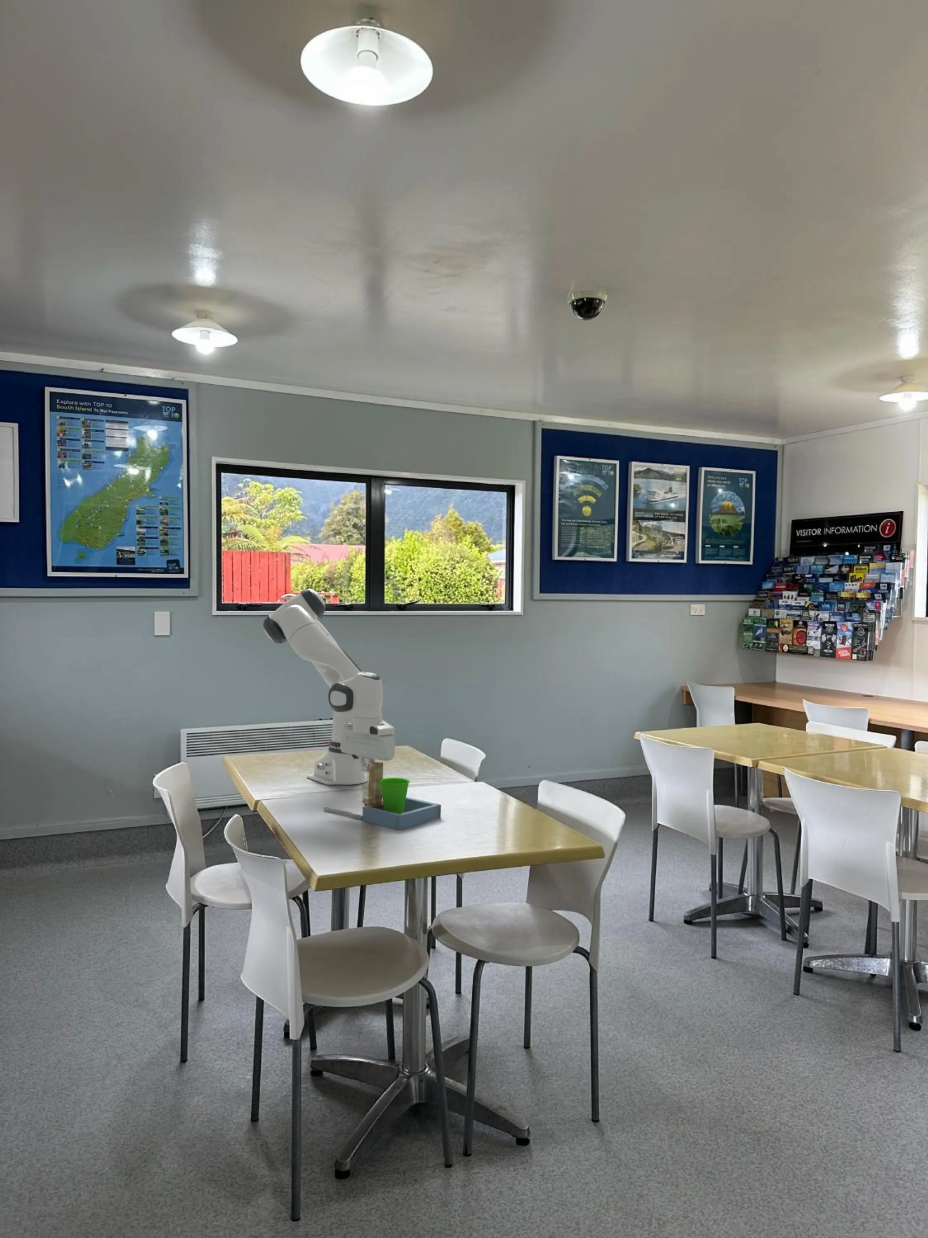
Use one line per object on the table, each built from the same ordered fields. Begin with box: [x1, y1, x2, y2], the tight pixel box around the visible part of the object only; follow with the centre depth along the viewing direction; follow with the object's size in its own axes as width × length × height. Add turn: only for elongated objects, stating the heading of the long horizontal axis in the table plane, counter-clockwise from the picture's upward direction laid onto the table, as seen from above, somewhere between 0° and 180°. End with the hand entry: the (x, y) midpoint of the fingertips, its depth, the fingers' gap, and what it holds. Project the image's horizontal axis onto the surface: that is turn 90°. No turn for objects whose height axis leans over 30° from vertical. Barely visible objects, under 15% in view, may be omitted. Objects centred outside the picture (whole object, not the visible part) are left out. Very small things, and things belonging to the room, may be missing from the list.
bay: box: [362, 796, 442, 831], centre depth 246 cm, size 14×18×4 cm
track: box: [323, 796, 368, 821], centre depth 255 cm, size 16×18×1 cm
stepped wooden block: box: [364, 760, 384, 810], centre depth 252 cm, size 5×12×15 cm, turn 142°
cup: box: [379, 777, 411, 814], centre depth 247 cm, size 9×9×11 cm
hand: (366, 771), depth 254 cm, fingers closed
